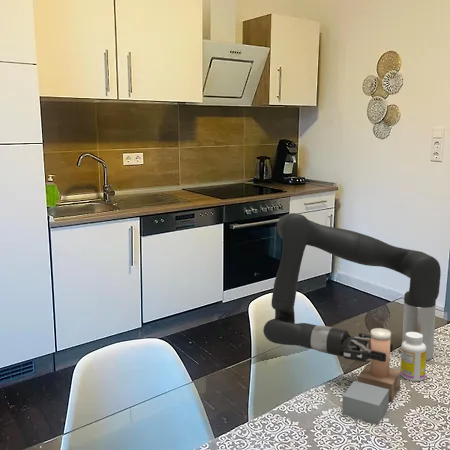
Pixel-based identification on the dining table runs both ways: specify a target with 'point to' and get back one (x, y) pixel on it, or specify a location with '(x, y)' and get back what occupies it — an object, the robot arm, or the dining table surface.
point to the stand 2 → (365, 402)
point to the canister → (380, 344)
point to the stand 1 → (382, 380)
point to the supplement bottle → (413, 357)
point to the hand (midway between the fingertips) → (389, 352)
